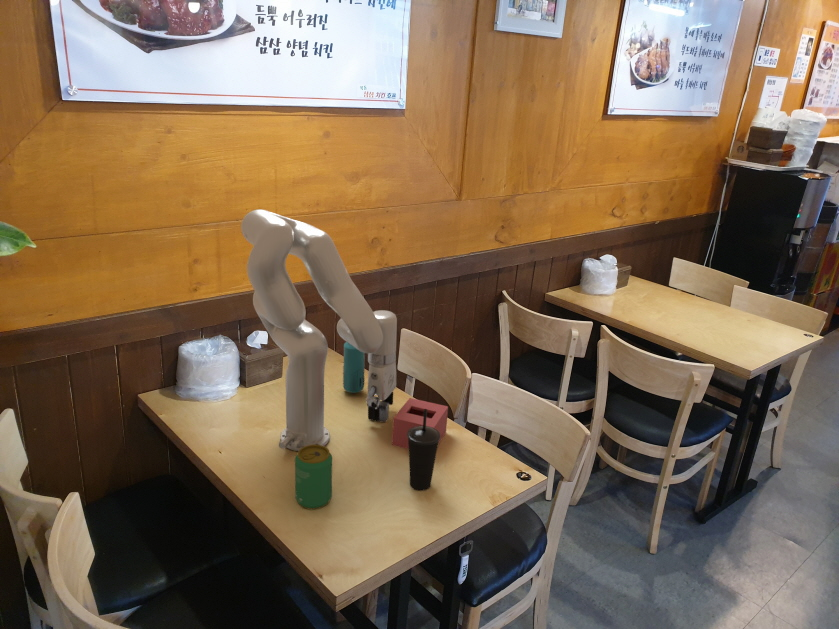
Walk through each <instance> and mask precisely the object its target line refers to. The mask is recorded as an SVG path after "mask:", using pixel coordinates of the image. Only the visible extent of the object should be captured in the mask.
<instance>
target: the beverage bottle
mask: <svg viewBox="0 0 839 629" xmlns="http://www.w3.org/2000/svg"><path fill="white" fill-rule="evenodd" d="M365 354H366V353H362V352H360V351H359V350H358V349H356V348H355V347H354V346H352V345H351V344H349V343H348V342H347V341H345V342H344V343H343V366H342V371H343V372H342V382H343V383H342V387H343V390H344V391H345V392H348V393H351V394H352V393H356V394H357V393H360V392H362V391H363V390H364V388H365V380H366V378H365V376H366V374H365V368H366V367H365V362H366V361H365V360H366V358H365V357H366V356H365Z"/></svg>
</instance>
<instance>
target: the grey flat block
mask: <svg viewBox="0 0 839 629" xmlns="http://www.w3.org/2000/svg"><path fill="white" fill-rule="evenodd" d="M373 402H374V403H375V404H376V402H377V400H375V399H373ZM378 408H380V417H379V421H378V422H382V423H386V422H387V421H388V420H389V415H390V414H389V412H390V405H389V403H387V402H383V401H382V400H380V403H379V407H378Z"/></svg>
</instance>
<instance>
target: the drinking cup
mask: <svg viewBox="0 0 839 629" xmlns="http://www.w3.org/2000/svg"><path fill="white" fill-rule="evenodd" d="M426 418H427V409H424V418H423V426H416V427H413V428H411V429H409V430H408V432H407V437H408V445H409V449H408V466H409V467H408V468H409V470H408V471H409V486H410V487H411V488H412V489H413V490H415V491H420V492H422V491H426V490H428V489H429V488H430V487H431V484H432V478H433V473H434V468H435V463H436V458H437V452H438V446H439V444H438V442H439V440H440V436H441V435H440V433H439V431H438V430H436V429H435V428H432V427H429V426H426Z"/></svg>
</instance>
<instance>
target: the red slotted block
mask: <svg viewBox="0 0 839 629" xmlns="http://www.w3.org/2000/svg"><path fill="white" fill-rule="evenodd" d="M424 409H427V418H426V426H429V427H432V428H435V429H436V430H438V431H439V433H440V435H441V436H440V440H439V442H438V445H439V444H440V443H441V441H442V440H443V438H444V436H445V434H446V433H447V424H448V414H449V406H447V405H443V404H440V403H435V402H429V401H425V400H421V399H416V398H412V397H409V398H407V400H406V402H405V403H404V404H403V405H402V406H401V408H399V411H398V412H397V413H396V414H395V415H394V416H393V419H392V437H391V445H392V446H394V447H399V448H403V449H407V450H409V445H408V437H407V432H408V430H409V429H411V428H413V427H416V426H423V418H424Z"/></svg>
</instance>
